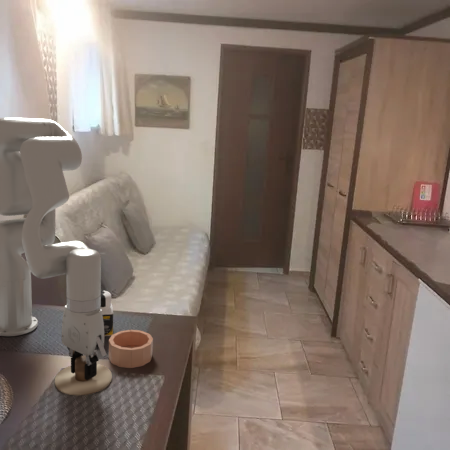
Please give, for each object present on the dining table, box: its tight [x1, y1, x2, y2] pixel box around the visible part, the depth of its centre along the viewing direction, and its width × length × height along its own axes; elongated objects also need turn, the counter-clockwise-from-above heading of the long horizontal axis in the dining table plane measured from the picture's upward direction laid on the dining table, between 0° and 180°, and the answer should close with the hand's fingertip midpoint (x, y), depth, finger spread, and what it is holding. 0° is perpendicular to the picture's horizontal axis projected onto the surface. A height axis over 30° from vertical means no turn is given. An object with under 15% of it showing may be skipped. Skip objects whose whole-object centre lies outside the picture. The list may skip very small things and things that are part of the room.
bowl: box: [108, 329, 154, 369], centre depth 126 cm, size 11×11×5 cm
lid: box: [54, 355, 113, 397], centre depth 114 cm, size 13×13×5 cm
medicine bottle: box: [100, 289, 114, 337], centre depth 138 cm, size 7×7×12 cm
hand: (83, 373), depth 115 cm, fingers closed on lid, 4 cm apart
